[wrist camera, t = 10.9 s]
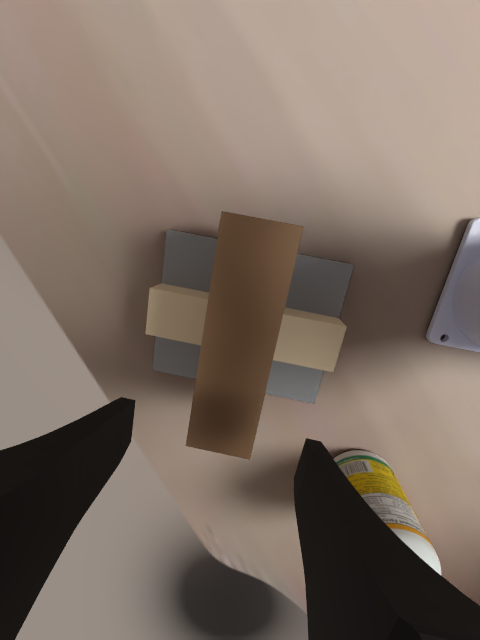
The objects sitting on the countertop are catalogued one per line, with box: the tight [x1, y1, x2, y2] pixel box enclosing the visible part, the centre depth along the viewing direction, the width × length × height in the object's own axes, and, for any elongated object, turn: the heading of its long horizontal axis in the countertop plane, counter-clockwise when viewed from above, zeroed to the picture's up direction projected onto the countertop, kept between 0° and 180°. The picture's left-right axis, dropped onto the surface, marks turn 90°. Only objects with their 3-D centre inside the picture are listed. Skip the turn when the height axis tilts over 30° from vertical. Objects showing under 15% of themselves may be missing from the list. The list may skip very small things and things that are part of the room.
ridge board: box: [145, 229, 354, 404], centre depth 19 cm, size 12×10×3 cm
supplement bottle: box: [334, 450, 441, 575], centre depth 19 cm, size 5×5×10 cm
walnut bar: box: [186, 211, 303, 459], centre depth 16 cm, size 4×12×4 cm, turn 170°
